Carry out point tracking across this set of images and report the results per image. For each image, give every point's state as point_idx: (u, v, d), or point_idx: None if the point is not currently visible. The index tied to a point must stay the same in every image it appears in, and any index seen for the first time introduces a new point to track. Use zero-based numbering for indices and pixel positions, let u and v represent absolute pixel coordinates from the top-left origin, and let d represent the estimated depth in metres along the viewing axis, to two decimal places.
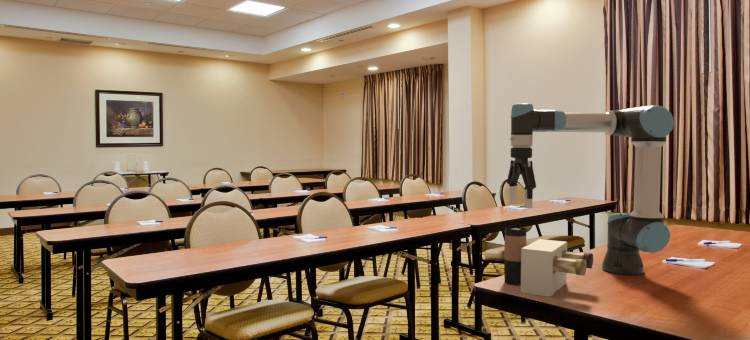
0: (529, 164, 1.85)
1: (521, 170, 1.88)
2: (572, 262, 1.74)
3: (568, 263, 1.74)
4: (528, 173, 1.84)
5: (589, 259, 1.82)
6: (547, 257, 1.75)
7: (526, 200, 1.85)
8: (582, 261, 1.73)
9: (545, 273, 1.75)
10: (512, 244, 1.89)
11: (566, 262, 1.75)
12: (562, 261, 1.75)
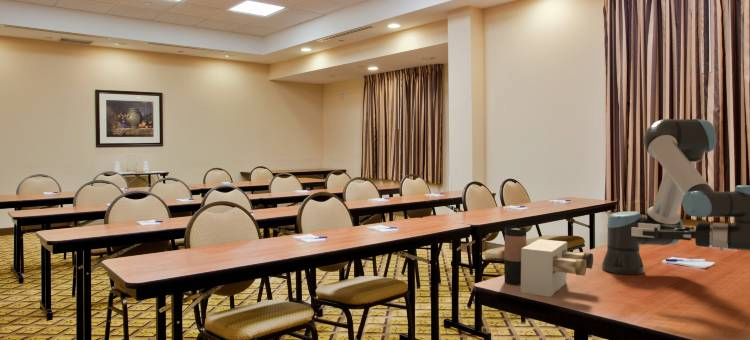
0: None
1: None
2: (572, 262, 1.74)
3: (568, 263, 1.74)
4: None
5: (589, 259, 1.82)
6: (547, 257, 1.75)
7: None
8: (582, 261, 1.73)
9: (545, 273, 1.75)
10: (512, 244, 1.89)
11: (566, 262, 1.75)
12: (562, 261, 1.75)
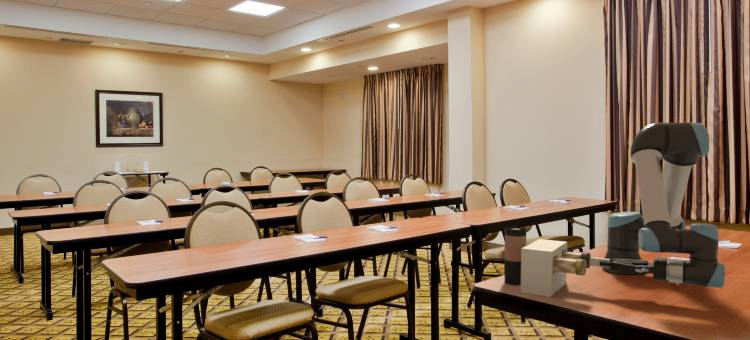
0: None
1: None
2: (572, 262, 1.74)
3: (568, 263, 1.74)
4: None
5: (587, 259, 1.82)
6: (547, 257, 1.75)
7: None
8: (582, 261, 1.73)
9: (545, 273, 1.75)
10: (512, 244, 1.89)
11: (566, 262, 1.75)
12: (562, 261, 1.75)
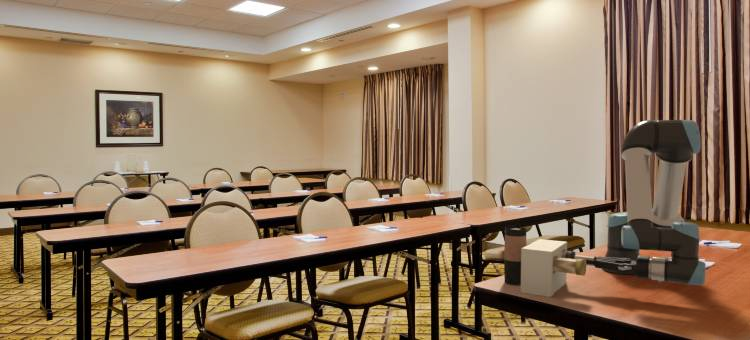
0: None
1: None
2: (572, 262, 1.74)
3: (568, 263, 1.74)
4: None
5: (571, 257, 1.85)
6: (547, 257, 1.75)
7: None
8: (582, 261, 1.73)
9: (545, 273, 1.75)
10: (512, 244, 1.89)
11: (566, 262, 1.75)
12: (562, 261, 1.75)
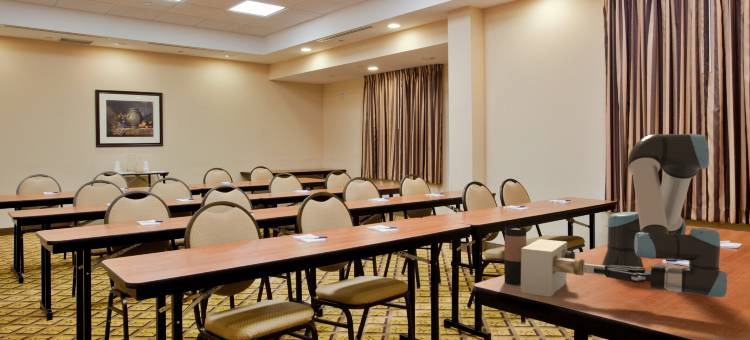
0: None
1: None
2: (570, 262, 1.74)
3: (566, 263, 1.75)
4: None
5: (571, 257, 1.85)
6: (547, 257, 1.75)
7: None
8: (580, 261, 1.73)
9: (545, 273, 1.75)
10: (512, 244, 1.89)
11: (564, 262, 1.75)
12: (560, 261, 1.76)
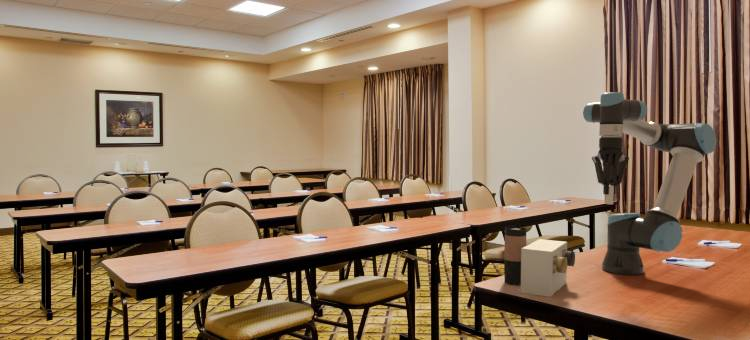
0: None
1: None
2: (553, 260, 1.77)
3: None
4: None
5: (571, 257, 1.85)
6: (547, 257, 1.75)
7: None
8: (563, 259, 1.76)
9: (545, 273, 1.75)
10: (512, 244, 1.89)
11: None
12: None
